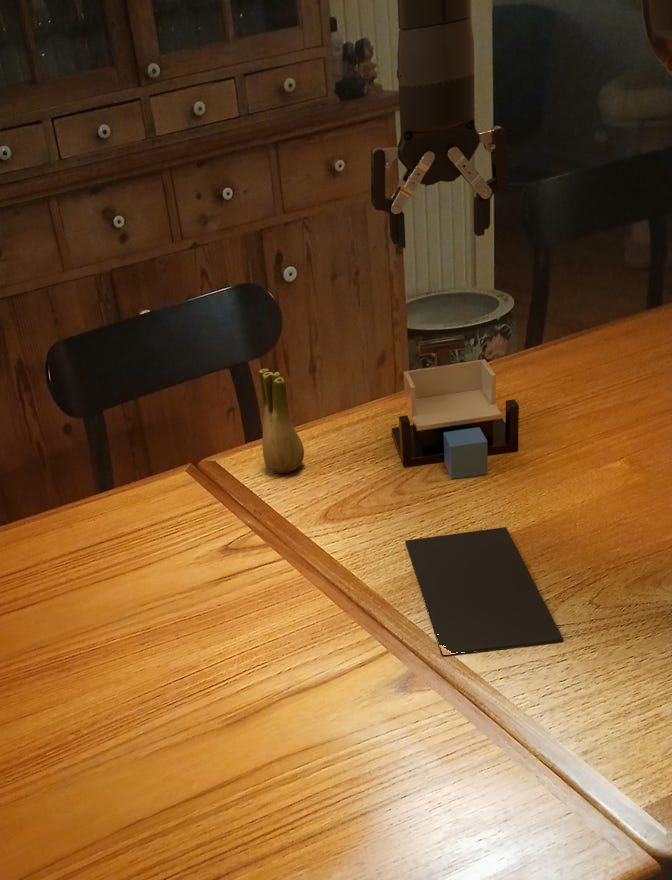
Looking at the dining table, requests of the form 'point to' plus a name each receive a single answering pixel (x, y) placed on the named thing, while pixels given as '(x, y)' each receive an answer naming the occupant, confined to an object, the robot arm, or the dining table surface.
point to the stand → (431, 441)
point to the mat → (480, 592)
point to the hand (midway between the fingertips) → (440, 240)
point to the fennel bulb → (278, 426)
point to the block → (465, 453)
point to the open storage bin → (450, 388)
